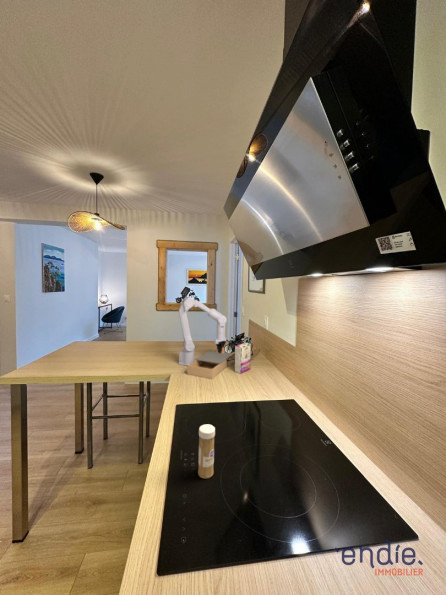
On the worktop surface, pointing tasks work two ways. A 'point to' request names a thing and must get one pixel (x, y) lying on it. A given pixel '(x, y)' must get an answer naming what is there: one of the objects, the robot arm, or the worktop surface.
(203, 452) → the sprinkles bottle
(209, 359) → the carton lid
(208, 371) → the carton
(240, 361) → the candy bar box
